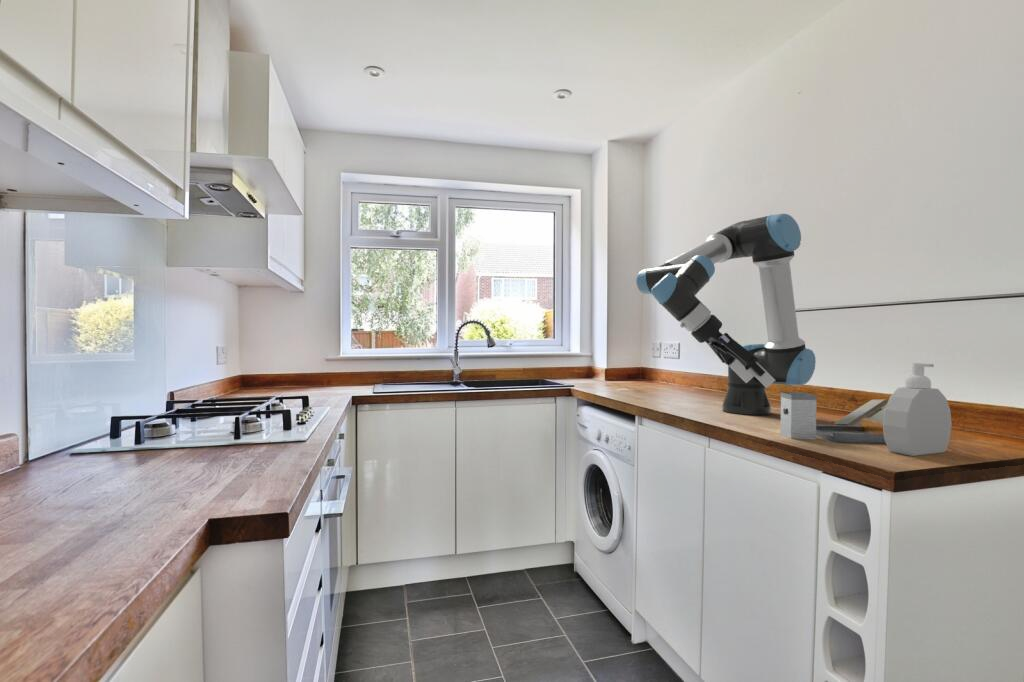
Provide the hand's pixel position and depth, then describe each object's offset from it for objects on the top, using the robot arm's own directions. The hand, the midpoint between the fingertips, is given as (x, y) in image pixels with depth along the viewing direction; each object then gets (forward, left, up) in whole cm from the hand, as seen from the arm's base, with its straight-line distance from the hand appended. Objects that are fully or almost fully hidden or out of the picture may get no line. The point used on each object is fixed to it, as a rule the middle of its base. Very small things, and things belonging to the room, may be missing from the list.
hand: (759, 381), depth 129 cm
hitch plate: (0, +23, -14) cm, 27 cm away
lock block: (0, +10, -14) cm, 17 cm away
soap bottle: (+15, +28, -14) cm, 35 cm away
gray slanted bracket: (-18, +38, -14) cm, 45 cm away
